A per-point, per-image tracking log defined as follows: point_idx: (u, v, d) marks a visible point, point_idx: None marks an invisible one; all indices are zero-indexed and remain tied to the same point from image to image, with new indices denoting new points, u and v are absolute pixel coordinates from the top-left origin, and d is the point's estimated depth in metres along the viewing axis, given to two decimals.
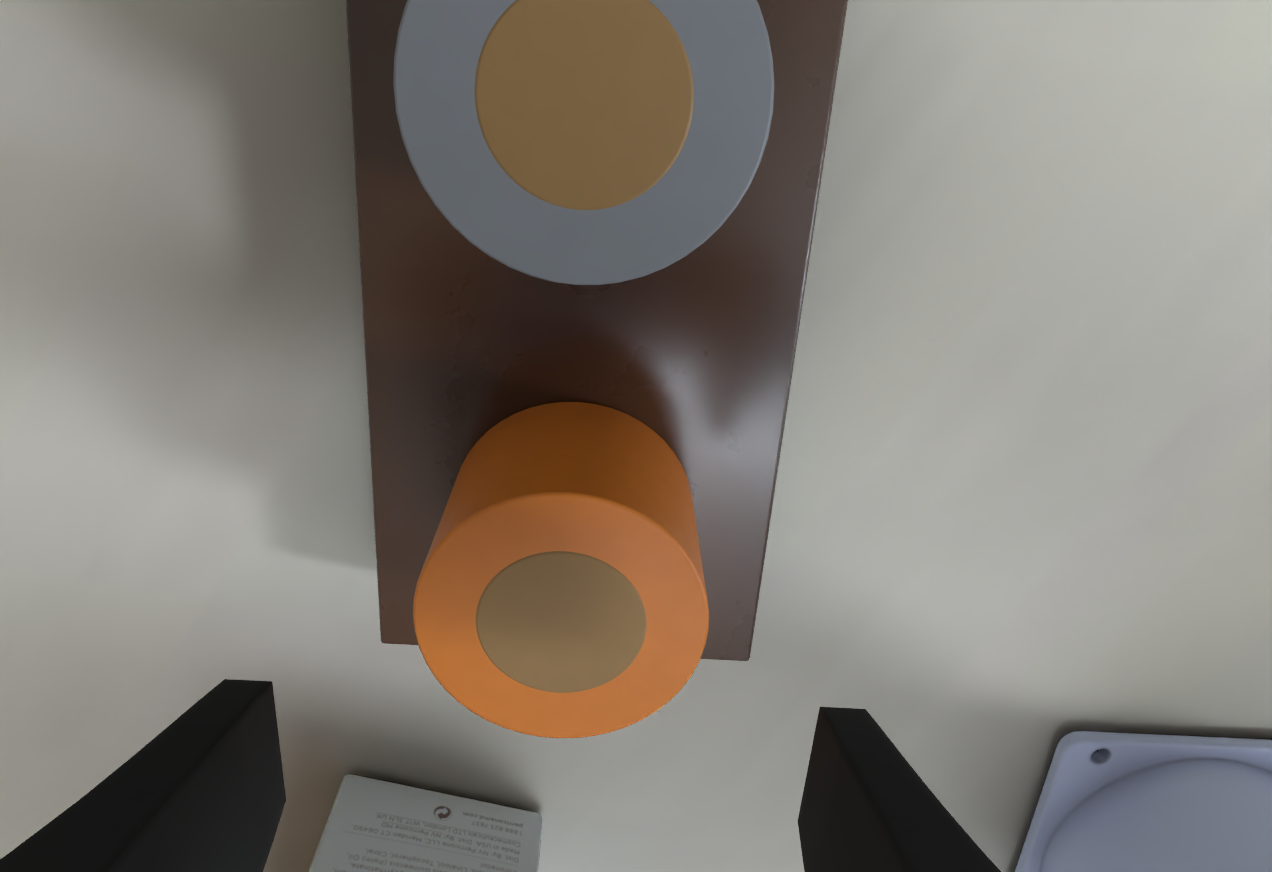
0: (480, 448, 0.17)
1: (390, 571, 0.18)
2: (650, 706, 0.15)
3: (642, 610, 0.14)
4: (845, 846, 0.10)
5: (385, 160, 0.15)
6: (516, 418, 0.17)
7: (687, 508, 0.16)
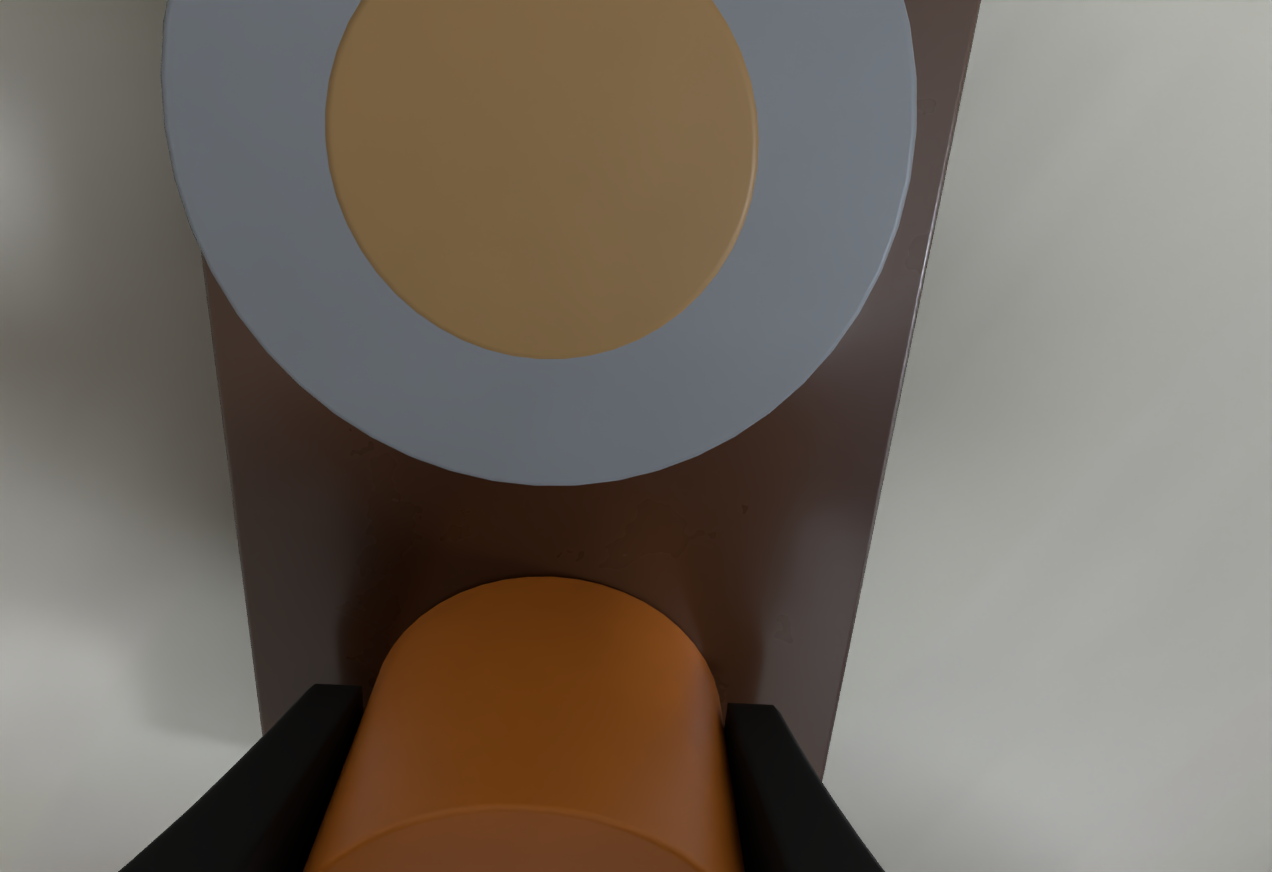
0: (405, 654, 0.11)
1: None
2: None
3: None
4: (742, 842, 0.10)
5: None
6: (460, 606, 0.11)
7: (718, 758, 0.10)
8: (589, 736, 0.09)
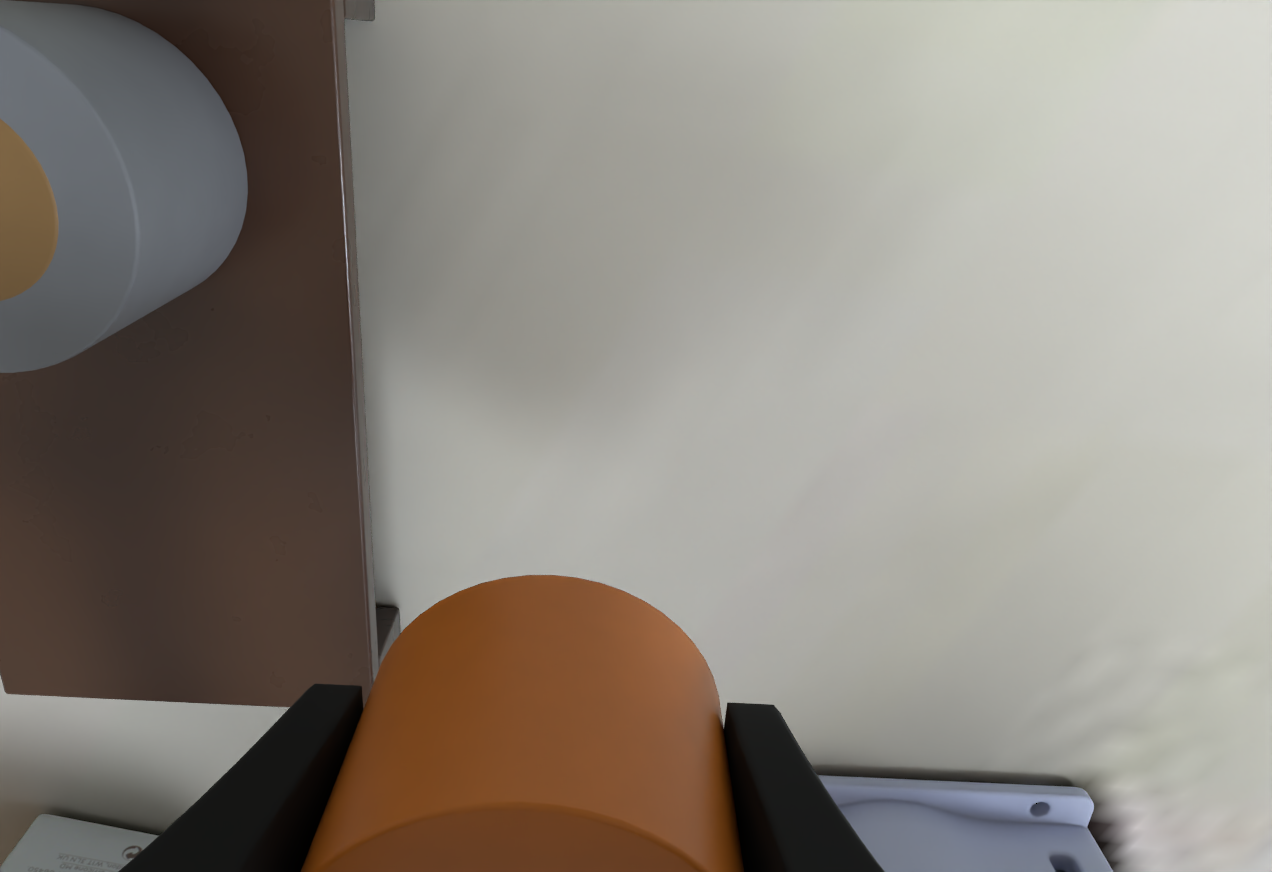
0: (403, 653, 0.11)
1: None
2: None
3: None
4: (742, 842, 0.10)
5: None
6: (459, 604, 0.11)
7: (717, 757, 0.10)
8: (588, 734, 0.09)
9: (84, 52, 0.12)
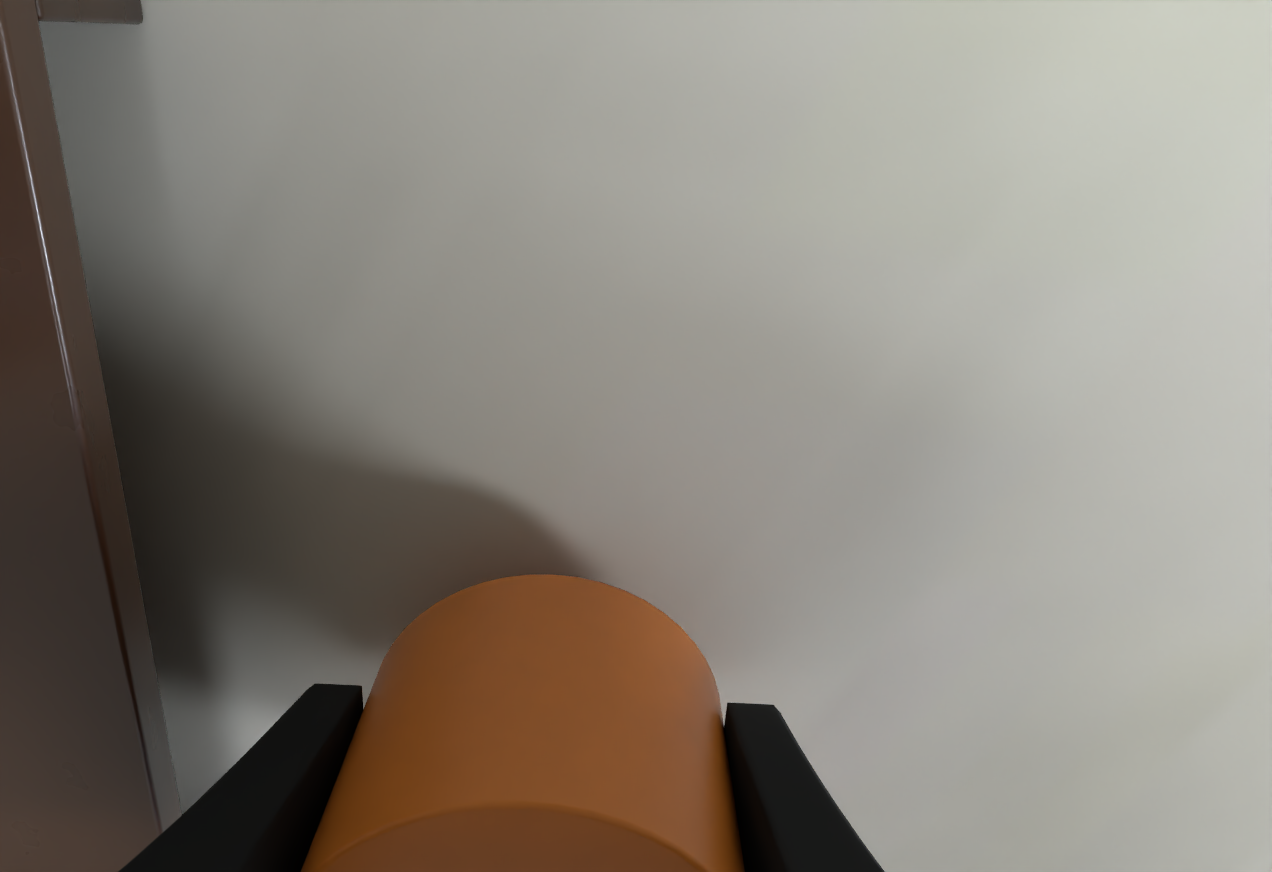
0: (404, 652, 0.11)
1: None
2: None
3: None
4: (742, 842, 0.10)
5: None
6: (460, 603, 0.11)
7: (718, 756, 0.10)
8: (588, 734, 0.09)
9: None
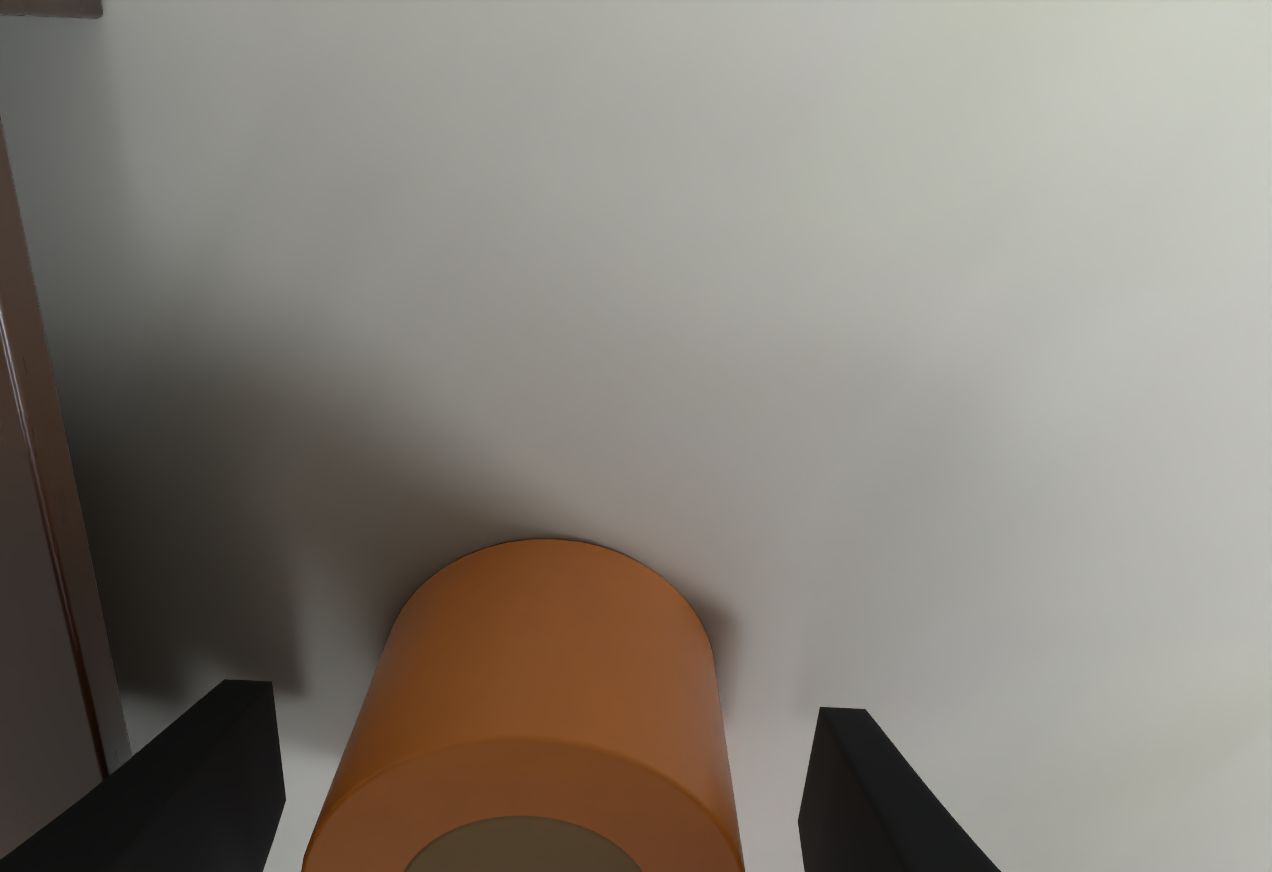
0: (416, 611, 0.12)
1: None
2: None
3: None
4: (845, 846, 0.10)
5: None
6: (468, 566, 0.12)
7: (711, 706, 0.11)
8: (590, 678, 0.10)
9: None
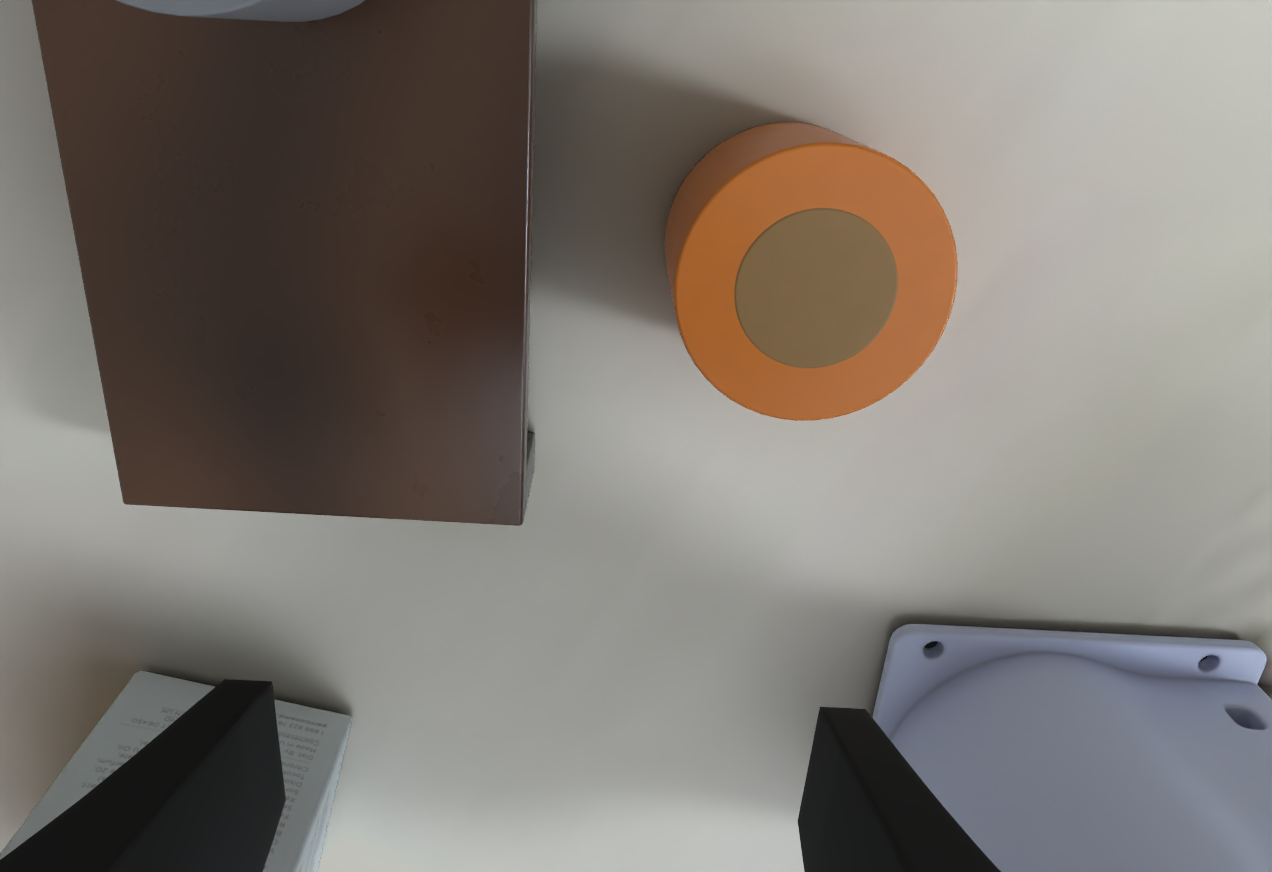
0: (708, 160, 0.17)
1: (122, 420, 0.17)
2: (890, 384, 0.16)
3: (895, 275, 0.15)
4: (845, 846, 0.10)
5: None
6: (740, 135, 0.17)
7: None
8: (857, 142, 0.15)
9: None
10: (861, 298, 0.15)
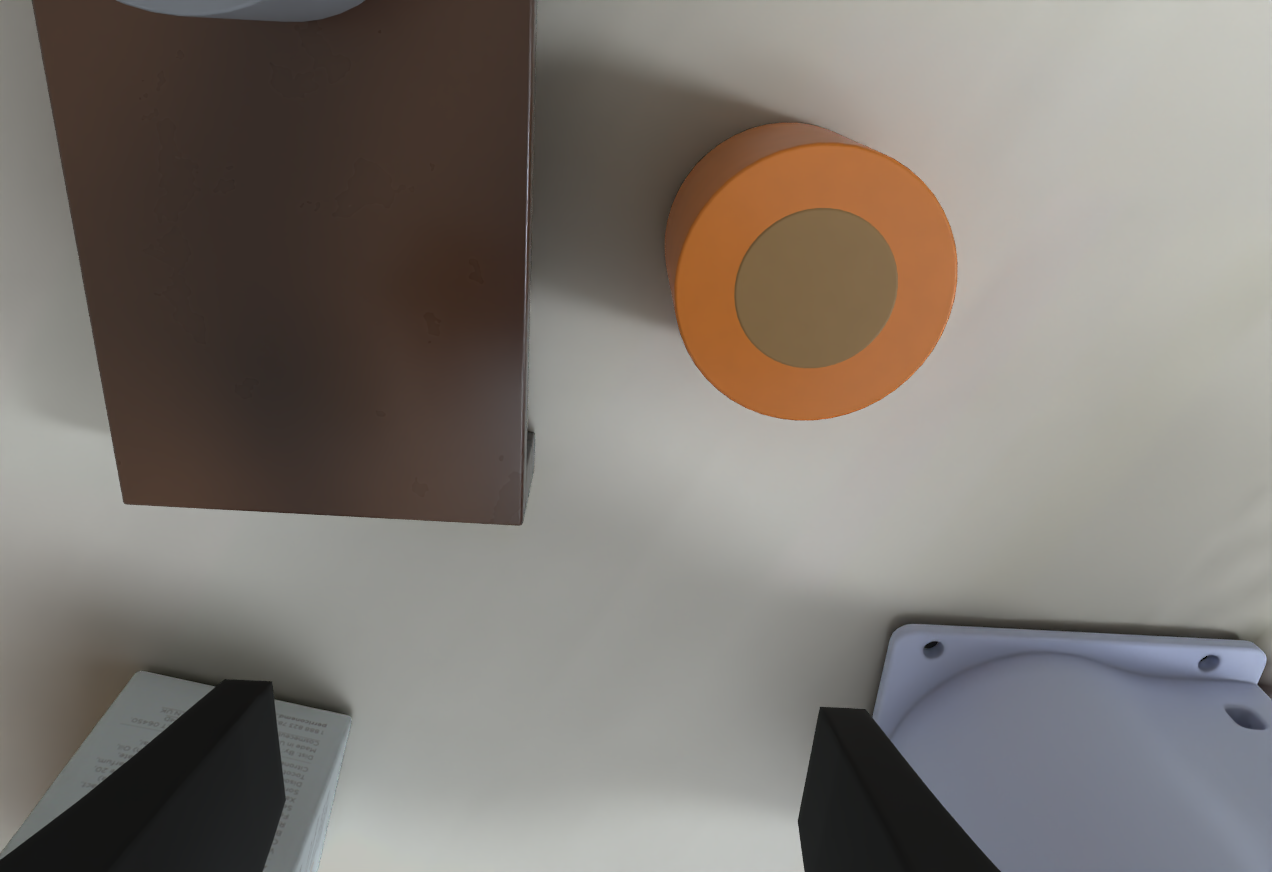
0: (708, 160, 0.17)
1: (122, 420, 0.17)
2: (890, 384, 0.16)
3: (895, 275, 0.15)
4: (845, 846, 0.10)
5: None
6: (740, 135, 0.17)
7: None
8: (857, 142, 0.15)
9: None
10: (861, 298, 0.15)
